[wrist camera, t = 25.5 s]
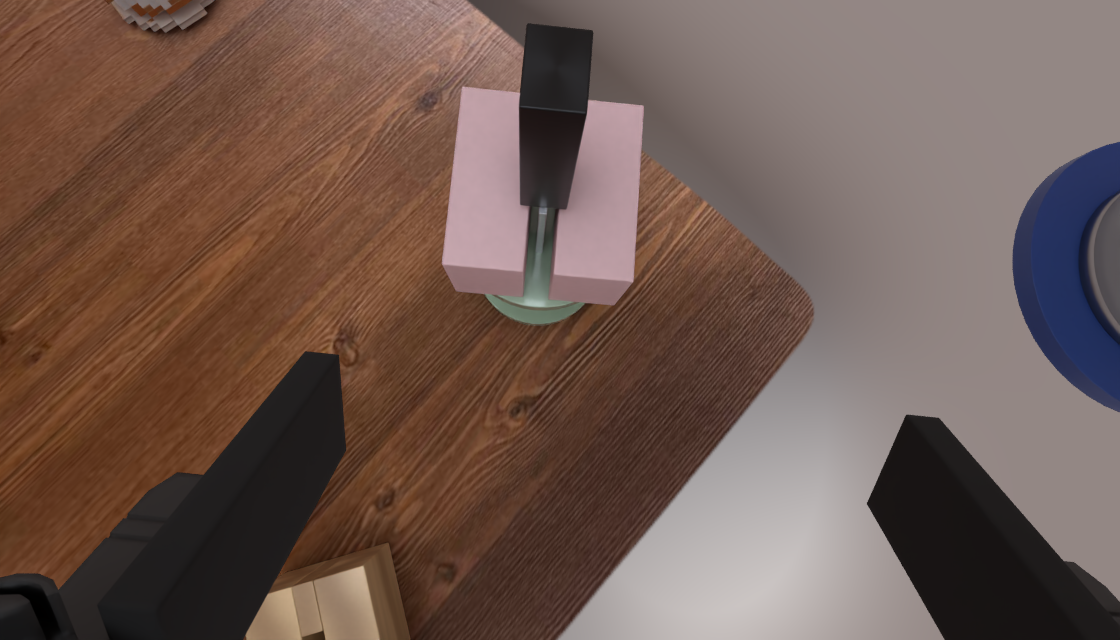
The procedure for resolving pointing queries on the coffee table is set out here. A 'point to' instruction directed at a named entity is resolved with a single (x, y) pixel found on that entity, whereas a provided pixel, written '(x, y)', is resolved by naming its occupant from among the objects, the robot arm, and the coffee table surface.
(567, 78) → the knife
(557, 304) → the cake stand
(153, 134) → the coffee table surface
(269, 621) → the knife block
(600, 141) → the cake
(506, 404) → the coffee table surface
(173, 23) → the decorative ornament
